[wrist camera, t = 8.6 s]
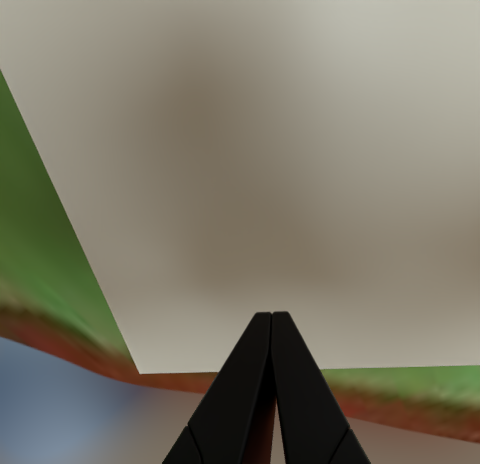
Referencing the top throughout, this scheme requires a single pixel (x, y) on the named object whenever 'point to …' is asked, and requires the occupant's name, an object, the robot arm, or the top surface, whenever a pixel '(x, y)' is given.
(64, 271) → the top surface
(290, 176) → the tray lid
